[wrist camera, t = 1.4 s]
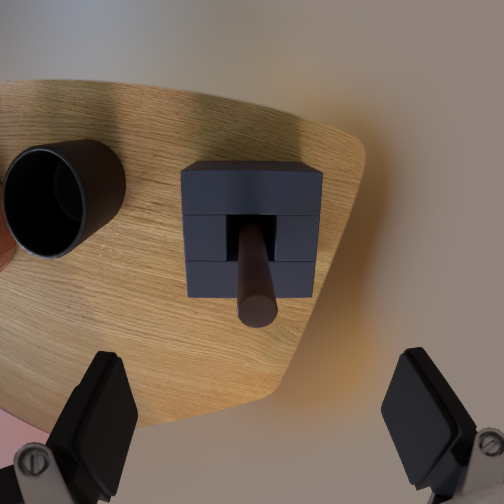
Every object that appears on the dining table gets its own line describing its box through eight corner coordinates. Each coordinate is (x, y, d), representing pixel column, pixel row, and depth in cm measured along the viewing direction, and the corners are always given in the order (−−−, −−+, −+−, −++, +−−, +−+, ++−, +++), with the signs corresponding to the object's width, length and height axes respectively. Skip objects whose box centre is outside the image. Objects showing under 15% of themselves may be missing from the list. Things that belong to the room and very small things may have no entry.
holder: (196, 160, 29) (180, 170, 21) (302, 162, 29) (323, 172, 21) (199, 259, 32) (187, 297, 25) (296, 259, 32) (312, 297, 25)
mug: (36, 140, 27) (-18, 148, 18) (130, 139, 27) (88, 144, 19) (36, 221, 30) (-11, 249, 21) (126, 231, 31) (89, 266, 22)
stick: (239, 202, 30) (236, 294, 13) (258, 202, 30) (279, 294, 13) (239, 220, 31) (237, 328, 14) (258, 220, 31) (276, 328, 14)
